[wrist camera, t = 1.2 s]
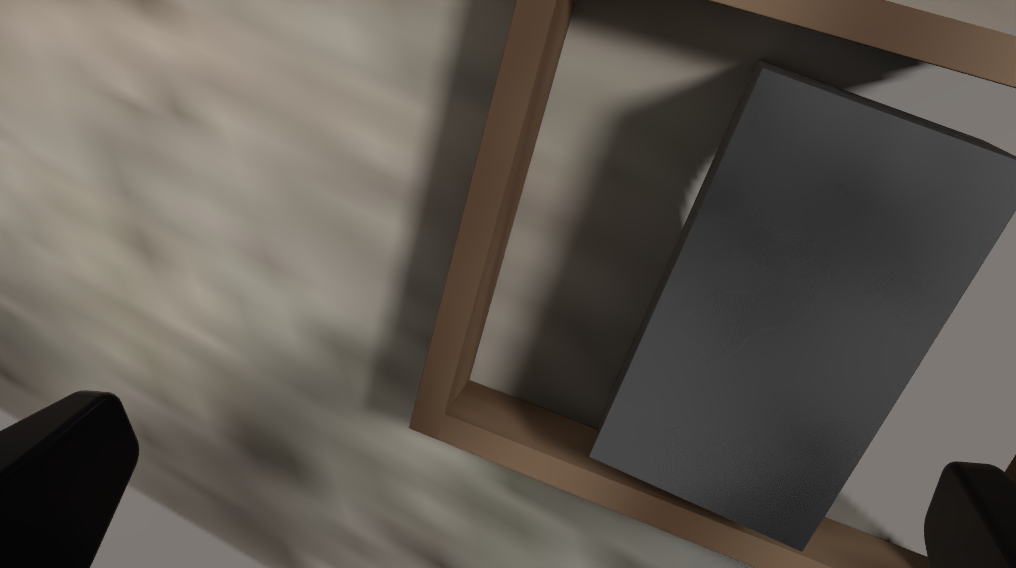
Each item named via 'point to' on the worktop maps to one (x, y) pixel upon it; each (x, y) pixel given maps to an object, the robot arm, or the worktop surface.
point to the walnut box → (484, 236)
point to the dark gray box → (800, 300)
